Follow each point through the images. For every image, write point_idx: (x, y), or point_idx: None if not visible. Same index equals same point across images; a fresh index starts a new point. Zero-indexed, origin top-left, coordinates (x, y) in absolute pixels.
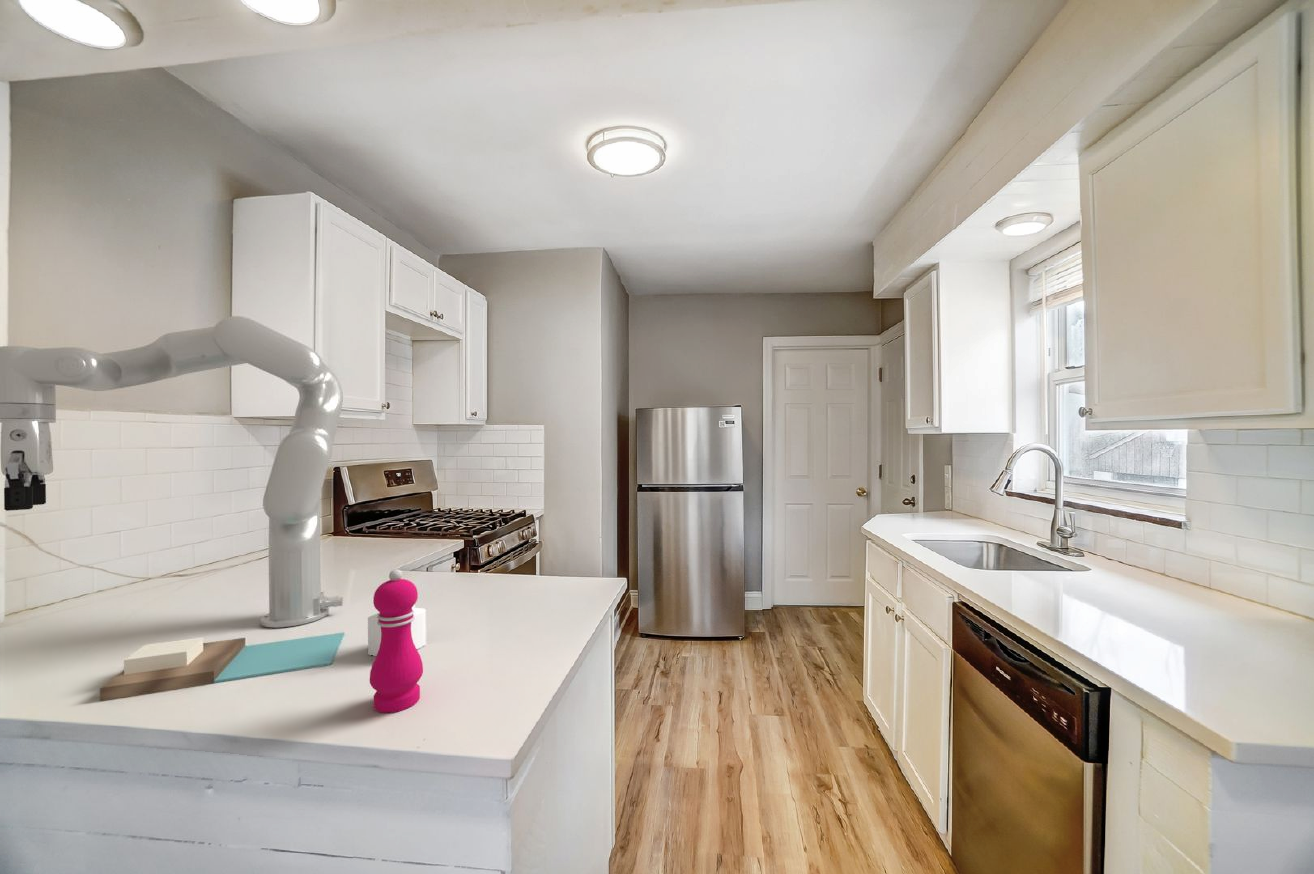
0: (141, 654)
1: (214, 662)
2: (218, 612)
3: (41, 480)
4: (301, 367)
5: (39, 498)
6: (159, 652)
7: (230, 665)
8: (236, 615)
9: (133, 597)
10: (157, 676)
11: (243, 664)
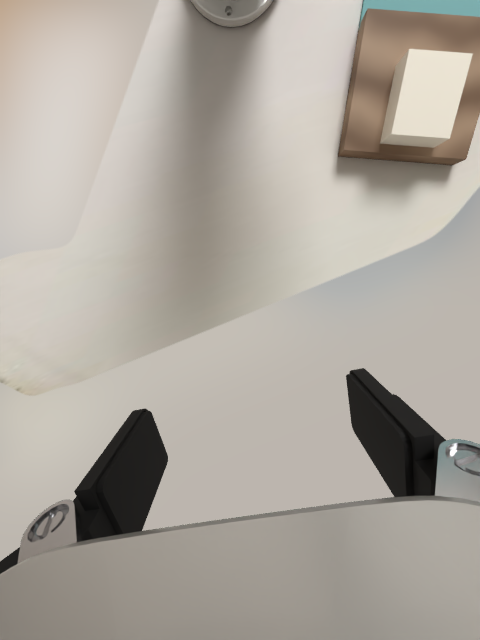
0: (438, 122)
1: (467, 29)
2: (128, 129)
3: (80, 524)
4: None
5: (142, 436)
6: (447, 97)
7: None
8: (160, 91)
9: None
10: (471, 99)
11: (451, 2)
